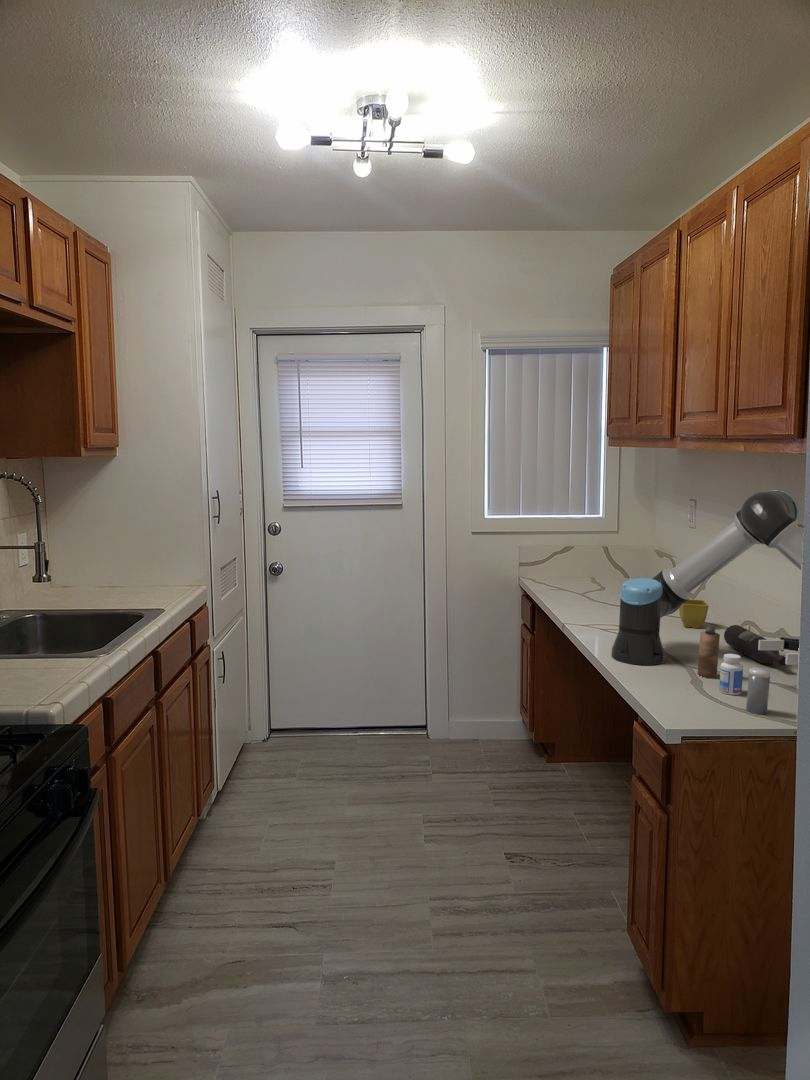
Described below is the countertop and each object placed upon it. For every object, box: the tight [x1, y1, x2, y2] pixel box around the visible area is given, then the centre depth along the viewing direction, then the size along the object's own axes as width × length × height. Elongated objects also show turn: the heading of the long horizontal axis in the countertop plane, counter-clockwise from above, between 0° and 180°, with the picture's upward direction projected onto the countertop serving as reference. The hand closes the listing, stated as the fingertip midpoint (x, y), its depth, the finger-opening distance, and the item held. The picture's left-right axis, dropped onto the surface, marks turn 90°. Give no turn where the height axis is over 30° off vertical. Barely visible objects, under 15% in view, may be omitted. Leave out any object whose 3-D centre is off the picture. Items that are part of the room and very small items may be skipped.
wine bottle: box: [723, 624, 787, 667], centre depth 229 cm, size 7×7×30 cm
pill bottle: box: [718, 653, 744, 696], centre depth 197 cm, size 6×5×10 cm
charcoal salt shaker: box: [745, 666, 771, 715], centre depth 183 cm, size 5×5×10 cm
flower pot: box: [678, 598, 709, 629], centre depth 269 cm, size 9×9×9 cm
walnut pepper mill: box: [697, 626, 721, 679], centre depth 211 cm, size 5×5×14 cm
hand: (772, 651), depth 196 cm, fingers open, 13 cm apart
